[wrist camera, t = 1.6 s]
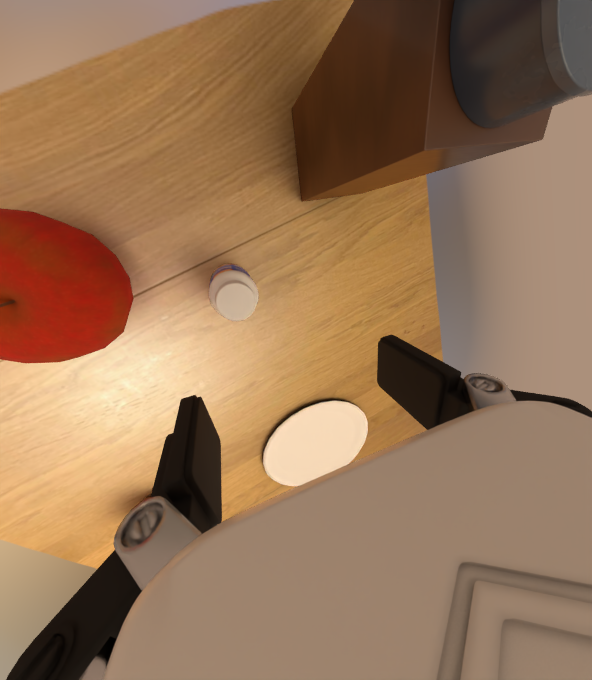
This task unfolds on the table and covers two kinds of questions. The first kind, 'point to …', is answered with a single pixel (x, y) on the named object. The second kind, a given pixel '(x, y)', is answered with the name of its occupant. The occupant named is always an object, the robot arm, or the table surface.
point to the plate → (315, 442)
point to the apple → (57, 290)
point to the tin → (519, 56)
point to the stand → (390, 104)
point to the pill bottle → (233, 292)
